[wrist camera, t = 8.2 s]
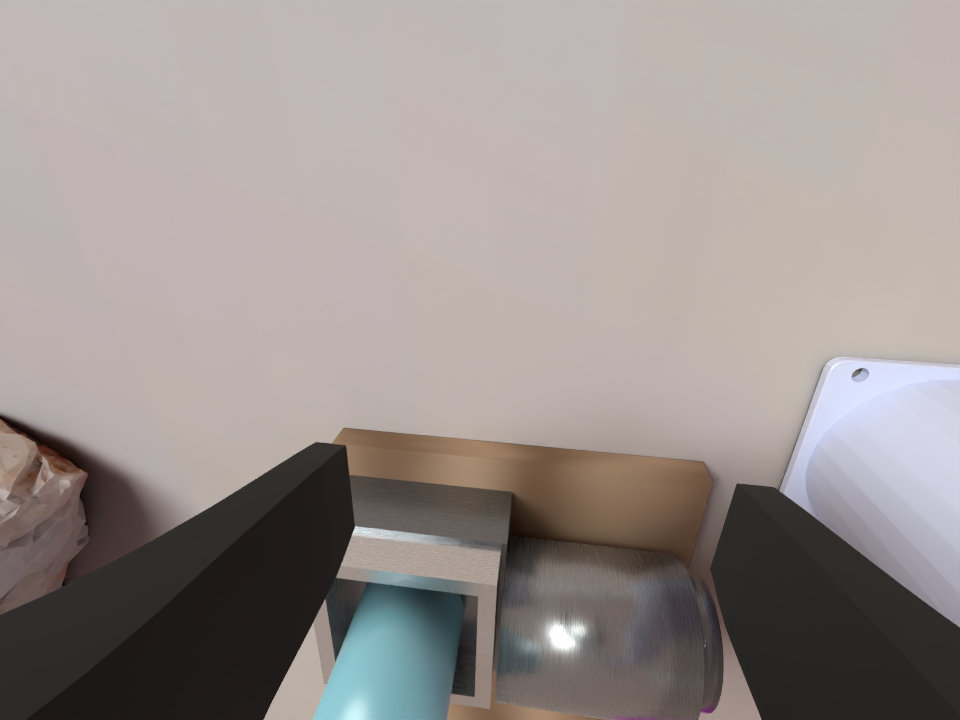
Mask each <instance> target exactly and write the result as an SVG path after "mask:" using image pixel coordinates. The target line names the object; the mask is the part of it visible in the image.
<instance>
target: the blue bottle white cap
mask: <svg viewBox="0 0 960 720" xmlns="http://www.w3.org/2000/svg"><path fill="white" fill-rule="evenodd" d="M463 616H464V603H463V600H462V597H461V595H460V594H457V593H449V592H441V591H434V590H426V589H418V588H411V587H403V586H395V585H387V584H380V583H372V582H368V583H367V584H366V587H365V589H364V592H363V594H362V597H361V599H360V602H359V604H358V607H357V609H356V612H355V614H354V617H353V619H352V622H351V624H350V627H349V630H348V632H347V635H346V637H345V640H344V642H343V645H342V647H341V650H340V652H339V655H338V657H337V660H336V662H335V665H334V667H333V670H332V672H331V675H330V678H329V680H328V683H327V685H326V688H325V690H324V693H323V695H322V698H321V700H320V703H319V705H318V708H317V710H316V713H315V715H314V718H313V720H447V716H448V710H449V704H450V697H451V691H452V685H453V679H454V672H455V666H456V660H457V654H458V647H459V641H460V635H461V628H462V622H463Z"/></svg>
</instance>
